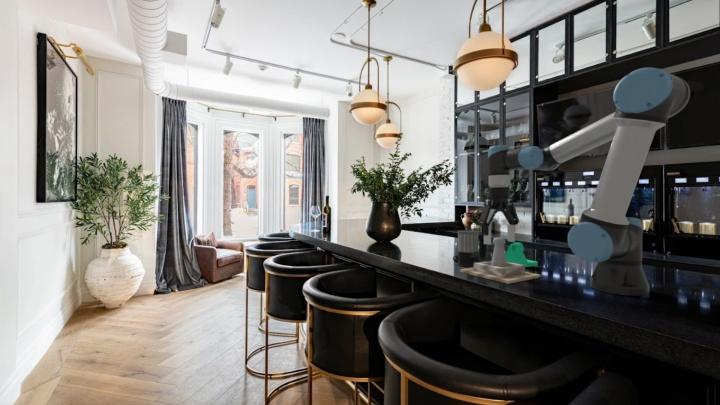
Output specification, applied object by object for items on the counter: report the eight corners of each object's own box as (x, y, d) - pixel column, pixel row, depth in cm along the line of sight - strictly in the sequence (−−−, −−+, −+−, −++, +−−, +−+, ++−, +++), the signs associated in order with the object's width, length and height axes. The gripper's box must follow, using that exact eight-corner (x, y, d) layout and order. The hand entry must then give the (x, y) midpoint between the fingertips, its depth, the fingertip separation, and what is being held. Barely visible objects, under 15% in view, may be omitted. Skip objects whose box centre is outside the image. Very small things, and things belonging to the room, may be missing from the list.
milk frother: (471, 268, 146) (471, 232, 146) (440, 263, 158) (440, 230, 158) (489, 264, 155) (489, 230, 155) (458, 259, 167) (458, 228, 167)
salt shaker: (499, 274, 130) (499, 239, 130) (487, 271, 136) (487, 237, 135) (510, 272, 133) (510, 238, 133) (498, 269, 138) (498, 236, 138)
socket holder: (540, 277, 130) (540, 266, 129) (508, 283, 120) (508, 272, 120) (490, 267, 148) (491, 257, 148) (460, 272, 139) (460, 261, 139)
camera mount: (538, 268, 147) (538, 243, 147) (525, 269, 144) (525, 244, 144) (515, 263, 158) (515, 240, 158) (502, 264, 155) (502, 241, 155)
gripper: (511, 187, 143) (512, 239, 144) (468, 187, 131) (468, 244, 131) (528, 186, 137) (529, 241, 137) (484, 186, 124) (485, 246, 124)
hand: (499, 242), depth 134 cm, fingers open, 13 cm apart
